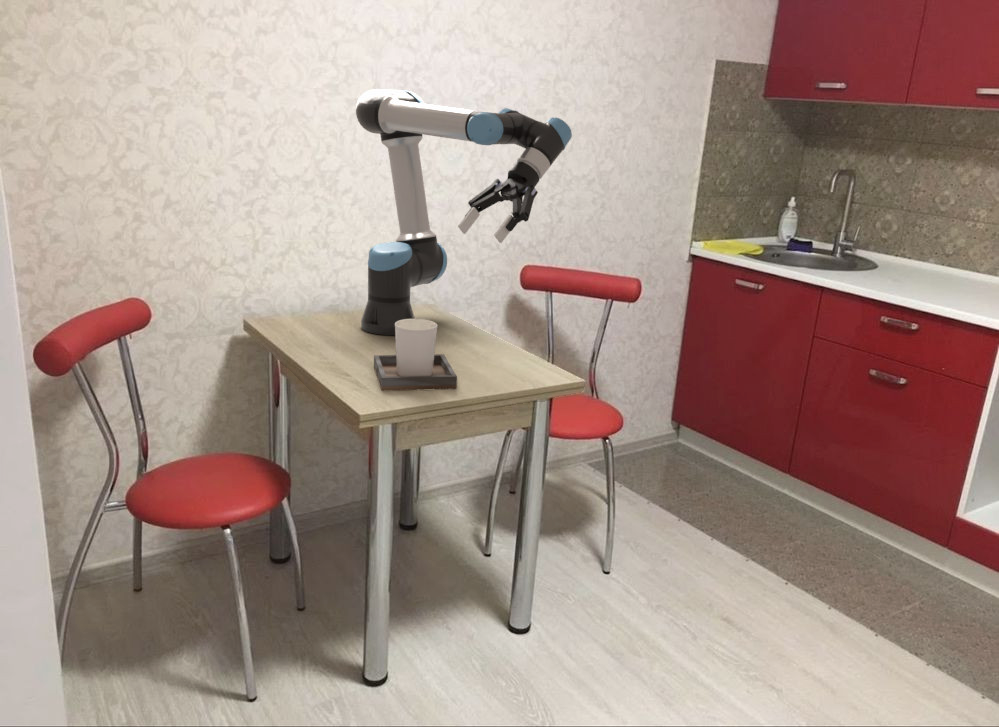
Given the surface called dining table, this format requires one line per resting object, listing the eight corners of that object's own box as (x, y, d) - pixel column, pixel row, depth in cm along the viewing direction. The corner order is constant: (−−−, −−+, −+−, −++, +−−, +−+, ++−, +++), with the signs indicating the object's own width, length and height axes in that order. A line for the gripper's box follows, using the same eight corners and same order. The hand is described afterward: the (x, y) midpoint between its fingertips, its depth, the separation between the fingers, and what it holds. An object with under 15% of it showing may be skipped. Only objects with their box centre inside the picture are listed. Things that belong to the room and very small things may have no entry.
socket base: (373, 366, 206) (374, 355, 206) (443, 365, 211) (443, 354, 210) (381, 390, 191) (381, 378, 190) (456, 388, 195) (457, 376, 194)
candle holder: (397, 380, 195) (398, 330, 191) (390, 367, 204) (391, 318, 200) (439, 379, 197) (441, 329, 194) (431, 366, 206) (433, 318, 203)
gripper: (570, 187, 207) (521, 253, 202) (502, 175, 224) (454, 236, 219) (557, 165, 202) (506, 232, 197) (487, 155, 219) (439, 216, 214)
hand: (478, 234), depth 208 cm, fingers open, 13 cm apart
